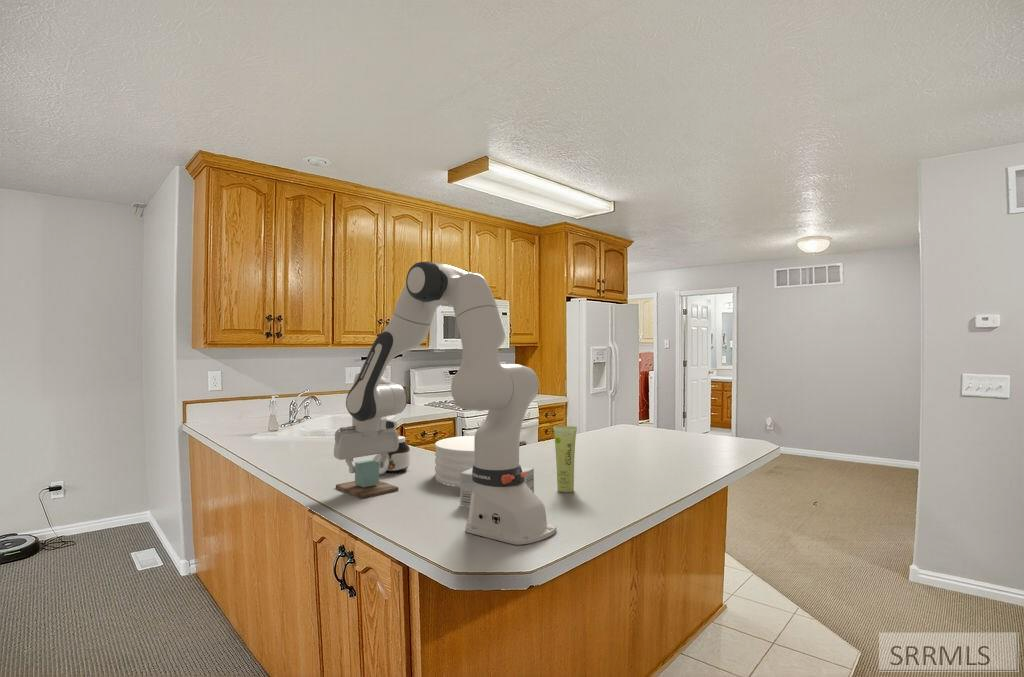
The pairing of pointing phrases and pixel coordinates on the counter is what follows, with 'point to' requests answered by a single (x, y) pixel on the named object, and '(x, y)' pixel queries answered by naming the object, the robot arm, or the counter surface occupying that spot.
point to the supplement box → (468, 484)
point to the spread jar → (396, 459)
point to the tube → (565, 456)
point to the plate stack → (453, 458)
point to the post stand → (366, 489)
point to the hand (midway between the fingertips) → (367, 470)
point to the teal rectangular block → (367, 473)
